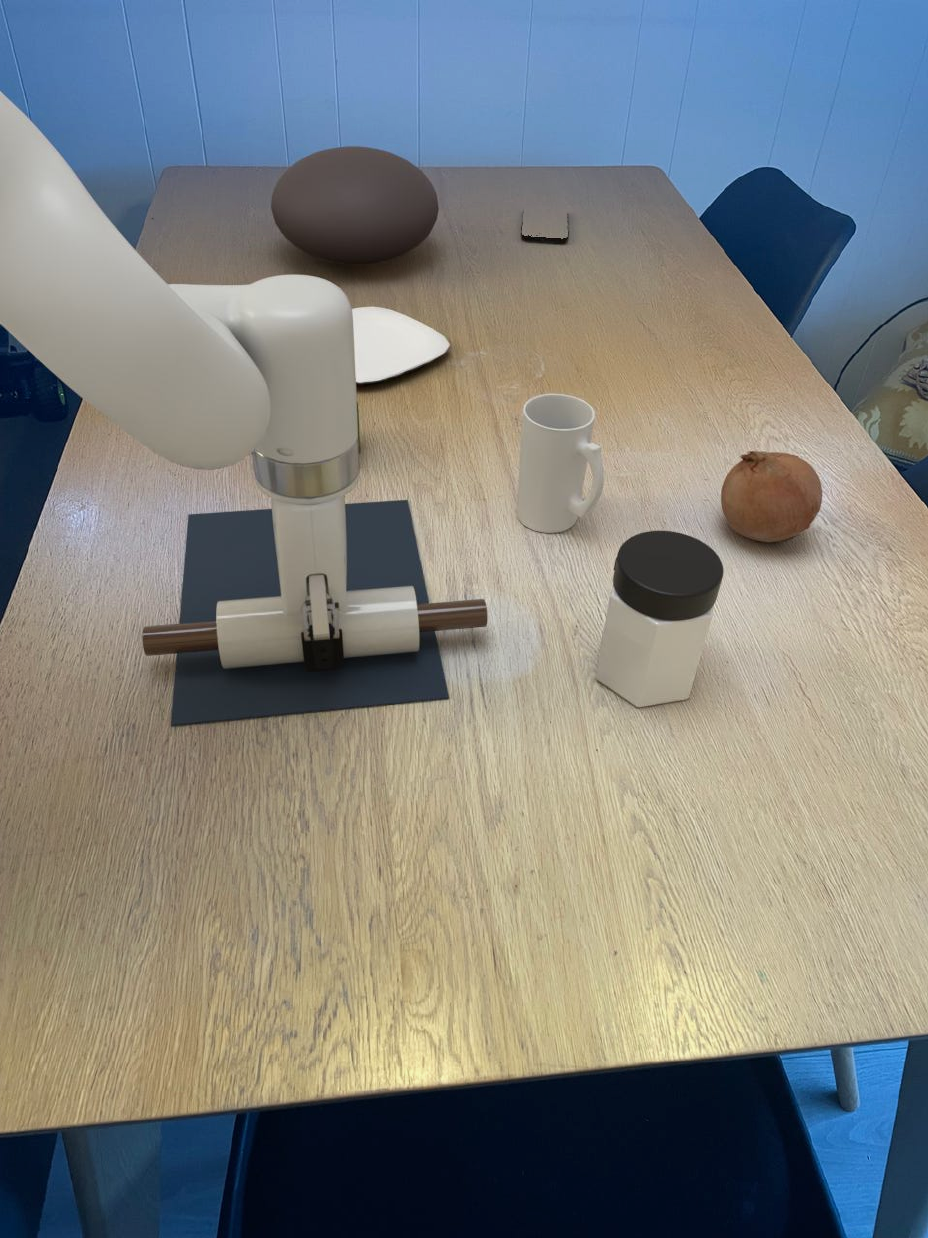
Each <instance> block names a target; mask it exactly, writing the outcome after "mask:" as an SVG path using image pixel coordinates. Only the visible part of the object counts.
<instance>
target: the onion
mask: <svg viewBox="0 0 928 1238" xmlns="http://www.w3.org/2000/svg"><path fill="white" fill-rule="evenodd" d="M739 458H740V459H741V460H740V461H739V462H737V463H736V464H735V465H734V466H732V468H731V469H730V470H729V472H728V473H727V474H726V475H725V478H724V481H723V483H722V485H721V486H722V487H721V491H720V506H721V510H722V513H723V517H724V519H725V520H726V522H727V524H728V525H729V526H730V528H731V529H732V530H733V531H734V532H735V533H736V534H738V535H740V536H743V537H745V538H747V539H749V540H753V541H757V542H765V543H773V544H778V543H782V542H785V543H787V542H788V541H789V540H793V539H795V538H797V537H799V536H800V535H801V533H803V532H805V531H806V530H808V529H809V528H810V527H811V524H812V523H813V522H814V521H815V520H816V517H817V516H818V514H819V513H820V511H821V507H822V502H823V487H822V482H821V480H820V477H819V475H818V473H817V471H816V470H815V469H814V468H813V466H812V465H811V464H810V463H809V462H808V461H806V460H805V459H803V458H801V457H799V456H798V455H795V454H790V453H788V452H777V451H775V452H773V451H769V452H768V451H757V450H750V451H747V452H746V453H745V454H744V453H743V454H740V456H739Z"/></svg>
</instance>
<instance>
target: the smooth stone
mask: <svg viewBox="0 0 928 1238" xmlns="http://www.w3.org/2000/svg"><path fill="white" fill-rule="evenodd" d="M270 209H271V213H272V217H273V221H274V223H275V225H276V227H277V228H278V230H279V231H280V234H282V235H283V237H284V238H285V239H287V241H288V242H290V243H291V244H292V245H293V246H294V247H296V248H297V249H299V250H300V251H302V252H304V253H305V254H307V255H309V256H311V257H314V258H317V259H319V260H322V261H327V262H331V263H333V264H340V265H348V266H362V265H363V266H364V265H365V266H366V265H374V264H379V263H385V262H387V261H391V260H394V259H397V258H399V257H402V256H404V255H406V254H407V253H409V252H411V251H412V250H414V249H415V248H417V247H419V245H421V243H423V241H425V240H426V239H427V238H428V237H429V235H430V234H431V232H432V230H433V229H434V227H435V225H436V222H437V220H438V215H439V210H440V209H439V201H438V194H437V191H436V189H435V187H434V185H433V182H431V180H430V179H429V178H428V176H427V175H426V174H425V173H424V172H423V170H421V169H420V168H419V167H418V166H416V165H415V164H413V163H412V162H410V161H409V160H408V159H406V158H405V157H401V156H400V155H397V154H395V153H392V152H391V151H387V150H383V149H380V148H379V149H378V148H373V147H368V146H359V145H358V146H357V145H355V146H354V145H352V146H351V145H350V146H348V145H347V146H338V147H333V148H327V149H323V150H319V151H317V152H313V153H311V154H309V155H307V156H305V157H303V158H301V159H299V160H297V161H296V162H295V163H293V164H292V165H291V166H289V167H288V168H287V169H286V170H285V171H284V172H283V174H282V175H281V176H280V178H278V180H277V181H276V183H275V186H274V188H273V191H272V195H271V203H270Z"/></svg>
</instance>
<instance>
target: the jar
mask: <svg viewBox="0 0 928 1238" xmlns="http://www.w3.org/2000/svg"><path fill="white" fill-rule="evenodd" d="M724 572H725V571H724V564H723V562H722V559H721V558H720V556H719V555H718V553H717V552H716V551H715V550H714V549H713V548H712V547H710V546H709V545H708V544H706V543H705V542H704V541H702V540H700V539H698V538H696V537H694V536H691V535H688V534H685V533H681V532H678V531H672V530H649V531H643V532H640V533H637V534H635V535H633V536H631V537H629V538H628V539H626V540H625V541H624V542H623V543H622V544H621V545H620V546H619V549H618V551H617V555H616V557H615V560H614V566H613V576H612V586H611V587H612V588H611V591H610V595H609V599H608V605H607V609H606V610H607V611H606V616H605V622H604V627H603V631H602V632H603V633H602V637H601V643H600V648H599V654H598V660H597V663H596V664H597V665H596V670H595V675H594V676H595V677H594V678H595V679H596V680H597V681H598V682H600V683H601V684H603V685H604V686H605V687H607V688H608V689H609V690H611V691H613V692H614V693H616V694H617V695H619V696H620V697H621V698H623V699H624V700H626V701H627V702H628V703H630V704H631V705H633V706H634V707H636V708H644V707H650V706H655V705H661V704H668V703H672V702H673V703H674V702H679V701H685V700H688V699H689V698H690V695H691V693H692V688H693V685H694V681H695V678H696V674H697V671H698V668H699V665H700V660H701V658H702V655H703V651H704V647H705V643H706V641H707V638H708V637H707V636H708V634H709V629H710V627H711V622H712V619H713V615H714V606H715V603H716V602H717V600H718V596H719V592H720V588H721V586H722V582H723V578H724Z"/></svg>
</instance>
